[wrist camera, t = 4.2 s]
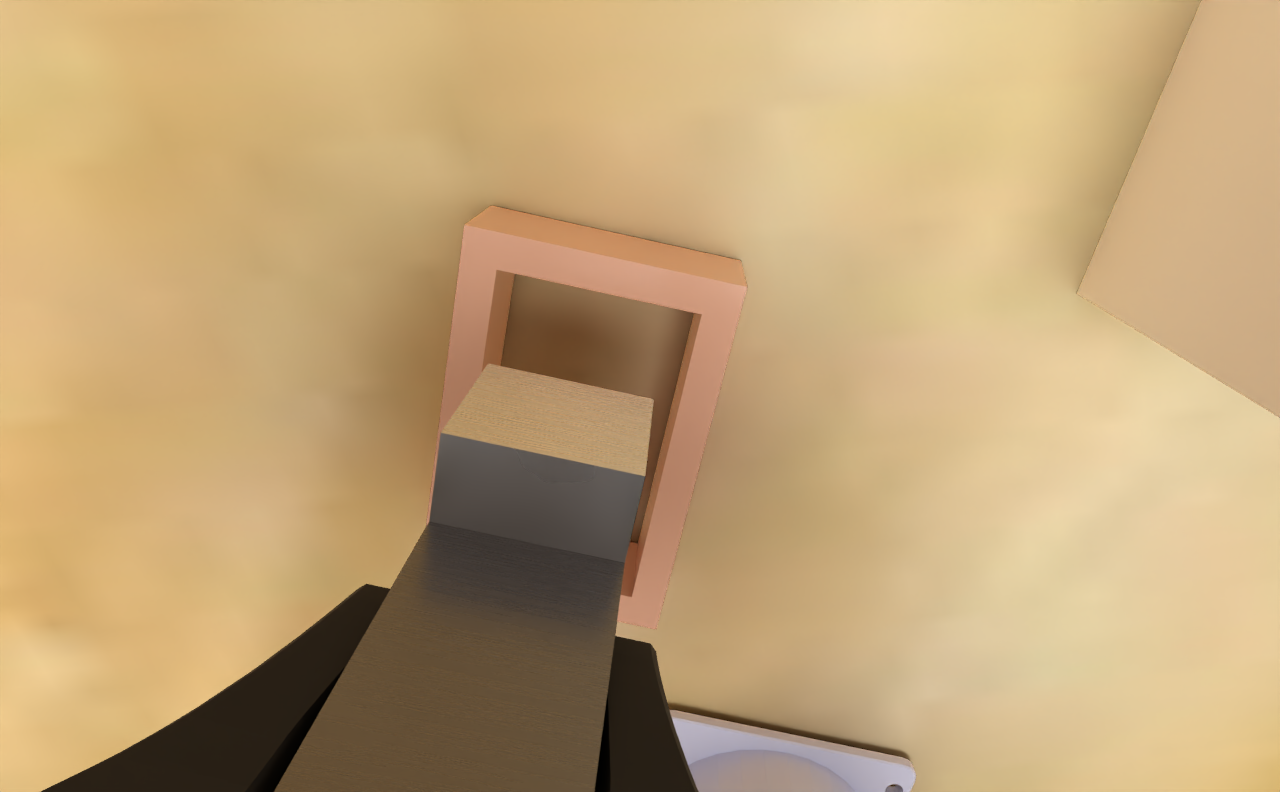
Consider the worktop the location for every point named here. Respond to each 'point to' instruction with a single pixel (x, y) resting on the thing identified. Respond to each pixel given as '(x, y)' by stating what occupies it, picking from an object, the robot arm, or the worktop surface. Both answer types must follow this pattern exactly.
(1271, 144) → the glazed tile
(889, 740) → the worktop surface
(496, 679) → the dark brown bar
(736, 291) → the pusher holder
